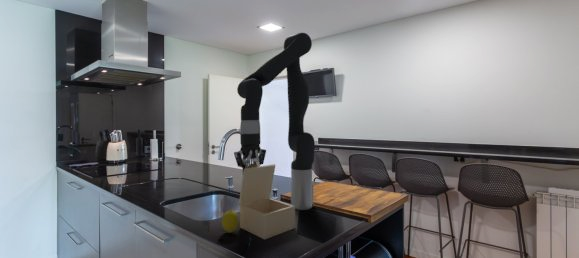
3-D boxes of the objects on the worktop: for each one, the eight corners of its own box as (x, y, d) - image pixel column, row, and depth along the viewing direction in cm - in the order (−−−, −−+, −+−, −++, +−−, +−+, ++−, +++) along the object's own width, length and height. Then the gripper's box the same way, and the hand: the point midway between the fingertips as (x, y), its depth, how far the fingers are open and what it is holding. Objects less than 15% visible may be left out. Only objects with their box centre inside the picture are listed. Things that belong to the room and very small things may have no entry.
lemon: (230, 237, 96) (230, 213, 96) (218, 233, 99) (218, 210, 99) (241, 231, 101) (241, 209, 101) (230, 228, 104) (230, 206, 104)
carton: (269, 218, 115) (269, 198, 114) (294, 227, 104) (294, 206, 104) (240, 227, 105) (240, 205, 104) (264, 239, 95) (264, 215, 94)
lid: (269, 197, 114) (259, 190, 119) (275, 164, 111) (265, 158, 116) (239, 205, 105) (230, 197, 109) (245, 169, 101) (235, 162, 106)
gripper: (259, 131, 118) (259, 173, 119) (228, 132, 108) (229, 178, 109) (271, 131, 113) (271, 175, 113) (240, 133, 103) (241, 181, 103)
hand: (250, 176), depth 111 cm, fingers closed on lid, 4 cm apart
